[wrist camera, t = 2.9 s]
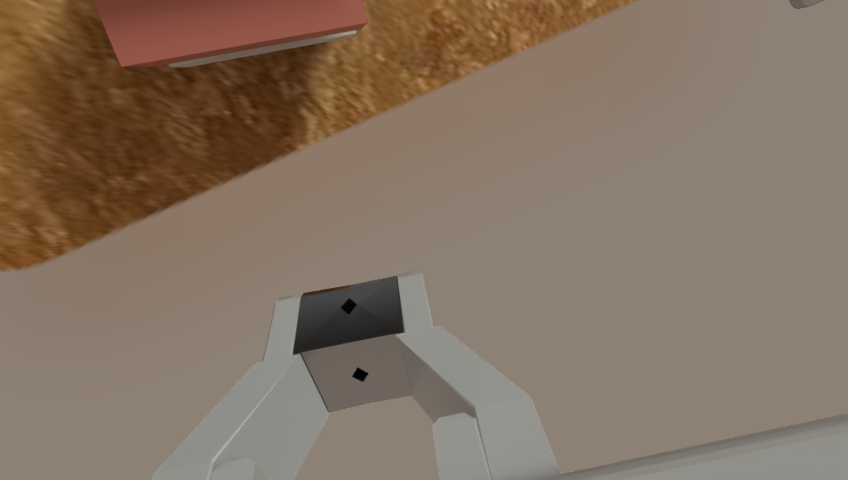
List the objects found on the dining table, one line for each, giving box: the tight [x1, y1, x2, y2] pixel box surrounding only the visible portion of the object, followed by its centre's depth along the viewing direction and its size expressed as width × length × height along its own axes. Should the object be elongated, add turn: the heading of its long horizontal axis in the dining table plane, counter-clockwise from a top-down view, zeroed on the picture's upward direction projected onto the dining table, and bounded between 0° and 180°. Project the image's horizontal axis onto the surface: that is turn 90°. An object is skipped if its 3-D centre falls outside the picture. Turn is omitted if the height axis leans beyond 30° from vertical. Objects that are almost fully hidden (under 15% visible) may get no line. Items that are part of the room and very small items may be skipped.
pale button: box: [169, 30, 356, 67], centre depth 24 cm, size 4×10×3 cm, turn 100°
